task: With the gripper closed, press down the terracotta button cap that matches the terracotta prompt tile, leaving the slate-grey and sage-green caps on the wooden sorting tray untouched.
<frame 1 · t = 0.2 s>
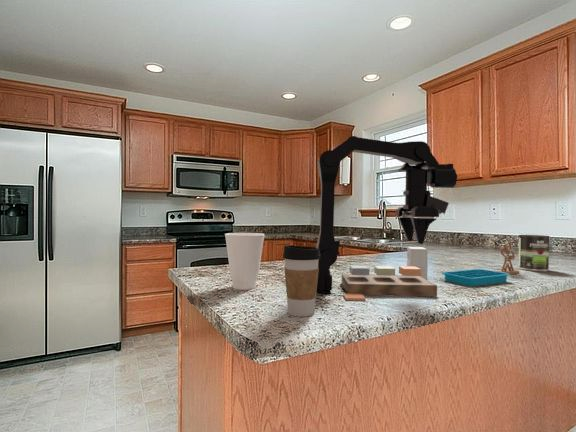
hand: (415, 242, 96), 14 cm above the countertop, fingers open, 9 cm apart
coffee cup: (301, 313, 75), on the countertop
ice cube tray: (475, 282, 113), on the countertop
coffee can: (533, 269, 139), on the countertop
terracotta button: (409, 271, 100), point 5 cm above the countertop, slide at 0.0 cm
slate button: (359, 270, 101), point 5 cm above the countertop, slide at 0.0 cm
small box: (416, 278, 119), on the countertop
cup: (244, 287, 101), on the countertop
sage button: (384, 270, 101), point 5 cm above the countertop, slide at 0.0 cm
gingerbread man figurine: (507, 274, 128), on the countertop
prompt tile: (354, 298, 89), on the countertop
wooden sorting tray: (385, 289, 99), on the countertop
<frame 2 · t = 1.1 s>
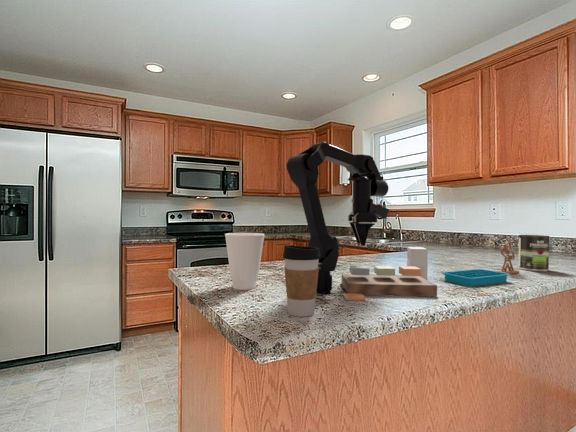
hand: (361, 244, 107), 12 cm above the countertop, fingers open, 7 cm apart
nothing on the countertop moved.
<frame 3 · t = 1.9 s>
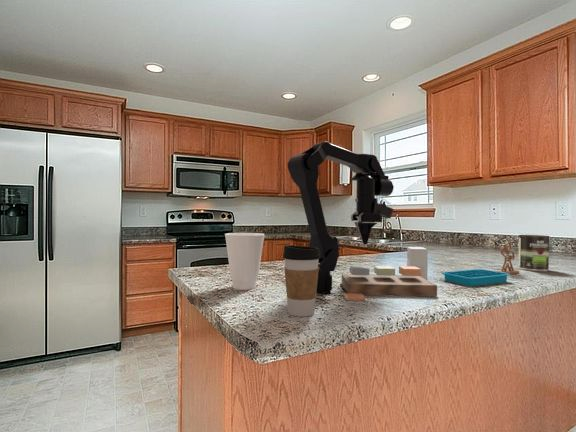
hand: (365, 244, 107), 13 cm above the countertop, fingers closed
nothing on the countertop moved.
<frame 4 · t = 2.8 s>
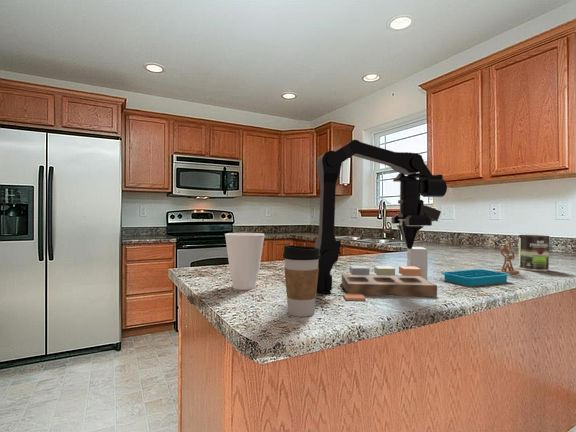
hand: (409, 248, 100), 12 cm above the countertop, fingers closed
nothing on the countertop moved.
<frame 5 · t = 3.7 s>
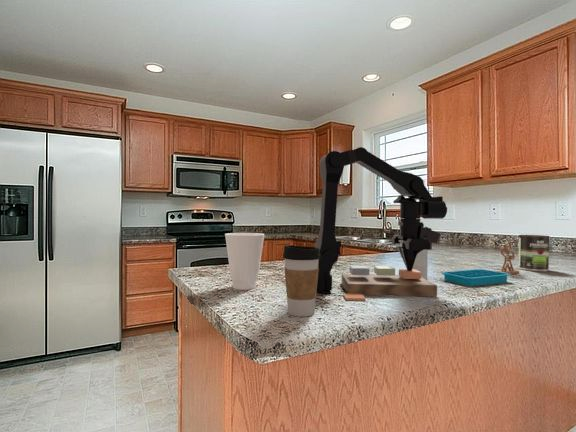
hand: (409, 270, 100), 5 cm above the countertop, fingers closed, pressing on terracotta button
terracotta button: (409, 274, 100), point 4 cm above the countertop, slide at 0.9 cm, touching gripper
everything else where it was.
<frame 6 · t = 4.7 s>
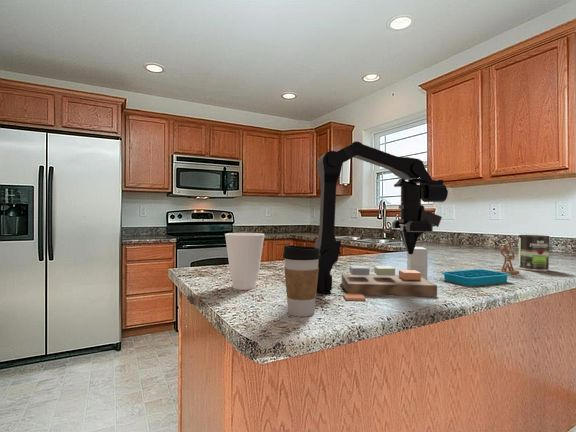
hand: (410, 254, 100), 10 cm above the countertop, fingers closed
terracotta button: (409, 274, 100), point 4 cm above the countertop, slide at 1.1 cm
everything else where it was.
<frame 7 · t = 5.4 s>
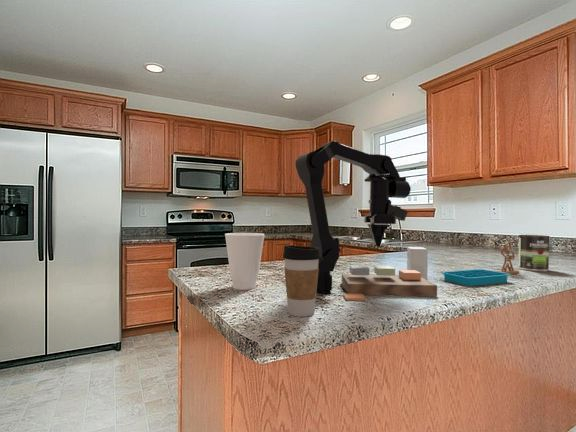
hand: (378, 246, 105), 12 cm above the countertop, fingers closed
nothing on the countertop moved.
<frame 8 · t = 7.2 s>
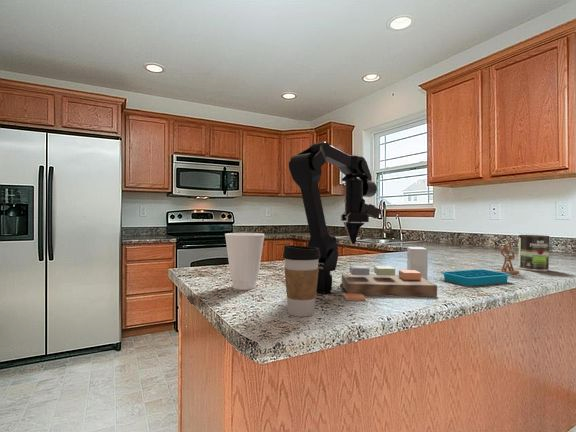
hand: (353, 243, 109), 13 cm above the countertop, fingers closed
nothing on the countertop moved.
at the end: terracotta button slide at 1.1 cm; sage button slide at 0.0 cm; slate button slide at 0.0 cm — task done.
